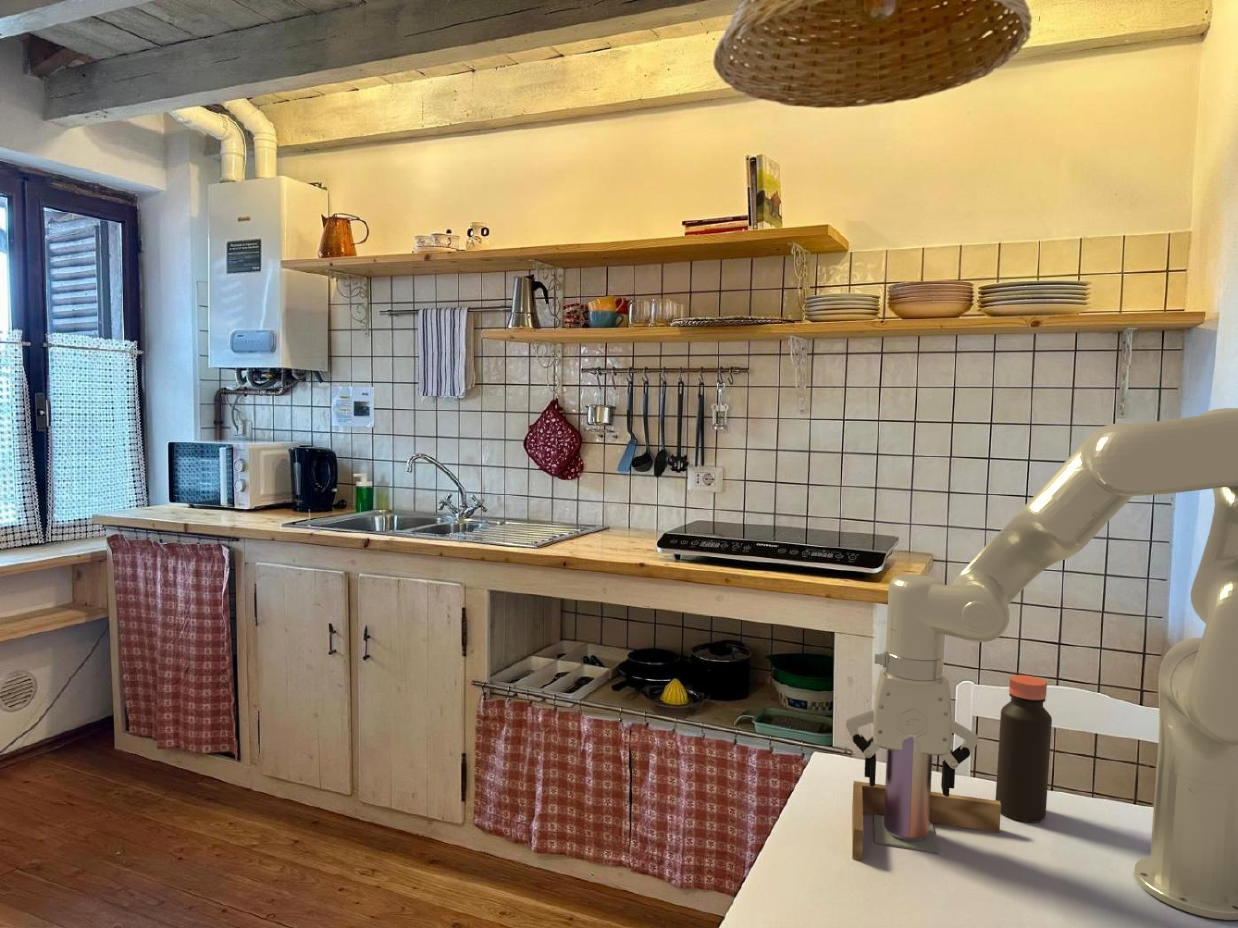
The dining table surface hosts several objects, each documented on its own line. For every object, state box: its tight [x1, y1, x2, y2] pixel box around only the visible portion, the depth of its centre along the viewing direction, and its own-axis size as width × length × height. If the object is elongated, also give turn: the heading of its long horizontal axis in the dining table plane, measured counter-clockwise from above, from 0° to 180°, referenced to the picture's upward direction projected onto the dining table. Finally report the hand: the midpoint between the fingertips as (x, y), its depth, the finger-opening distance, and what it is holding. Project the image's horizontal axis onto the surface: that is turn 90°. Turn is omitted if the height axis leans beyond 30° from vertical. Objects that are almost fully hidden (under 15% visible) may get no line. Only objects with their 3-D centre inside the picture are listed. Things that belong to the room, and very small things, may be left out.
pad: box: [873, 814, 939, 854], centre depth 117 cm, size 8×8×1 cm
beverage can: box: [883, 734, 934, 841], centre depth 117 cm, size 6×6×15 cm
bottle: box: [994, 674, 1053, 823], centre depth 124 cm, size 7×7×20 cm
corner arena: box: [851, 780, 1002, 861], centre depth 115 cm, size 20×15×4 cm
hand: (908, 787), depth 117 cm, fingers open, 9 cm apart
